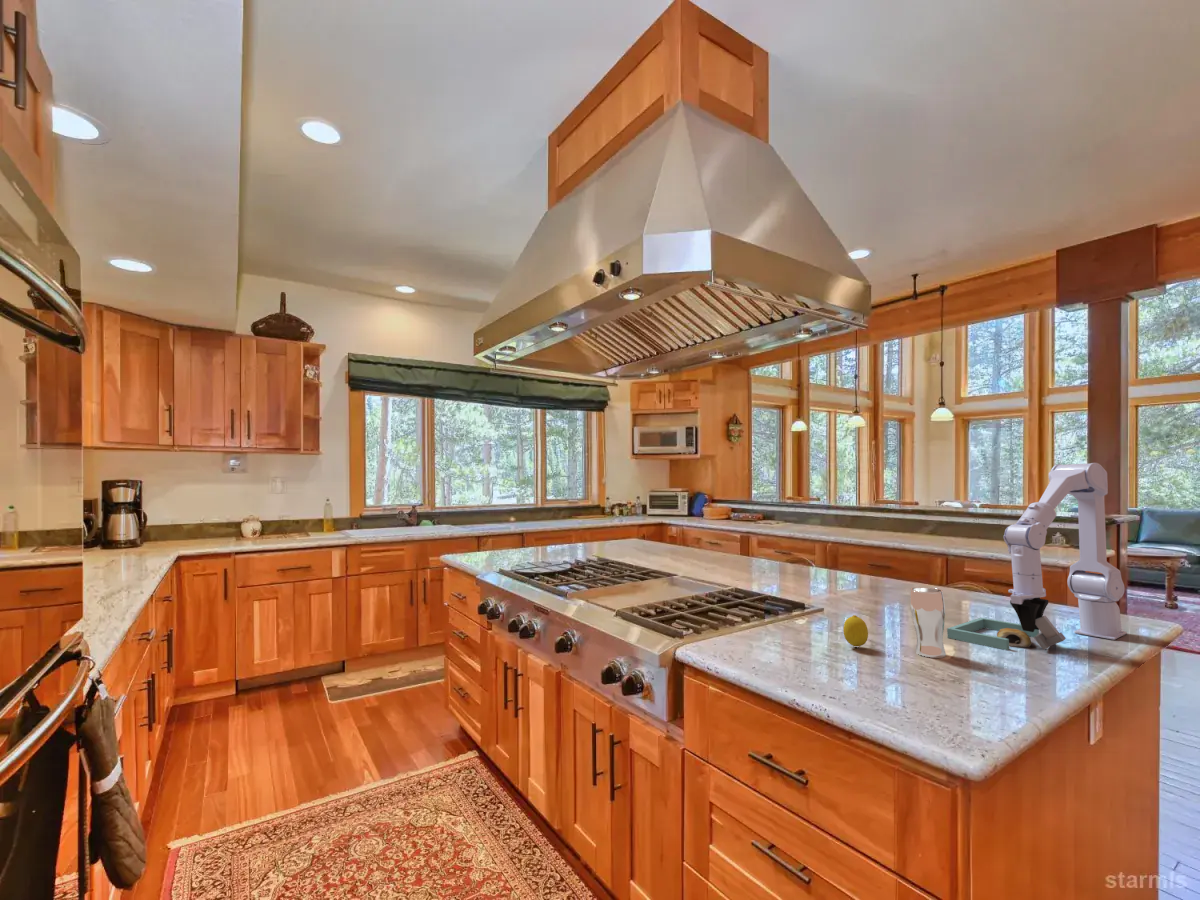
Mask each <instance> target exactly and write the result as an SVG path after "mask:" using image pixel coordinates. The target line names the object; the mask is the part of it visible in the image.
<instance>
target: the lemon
mask: <svg viewBox="0 0 1200 900" xmlns="http://www.w3.org/2000/svg"><path fill="white" fill-rule="evenodd" d="M842 631H843V636H844V639H845V641H846V642H847V643H848V644H849V645H851V646H853V647H854V646H859V647H861V646H863V645H865V644H866V642H867V641H868V638H869V631H868V626H867V623H866V622H865V620H864V619H862V618H861V617H858V616H857V615H856V614H853V615H852V616H850V617H848V618H846V620H845V621H844V623H843V629H842Z"/></svg>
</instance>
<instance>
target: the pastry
mask: <svg viewBox="0 0 1200 900" xmlns="http://www.w3.org/2000/svg"><path fill="white" fill-rule="evenodd" d="M996 637H1001V638H1006V639H1009V647H1018V648H1029V647H1031V644H1032V640H1031V636H1028V635H1027V634H1026V633H1025V632H1023V631H1020V630H1018V629H1011V628H1004V629H1000V630H999V631H997V632H996Z"/></svg>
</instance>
